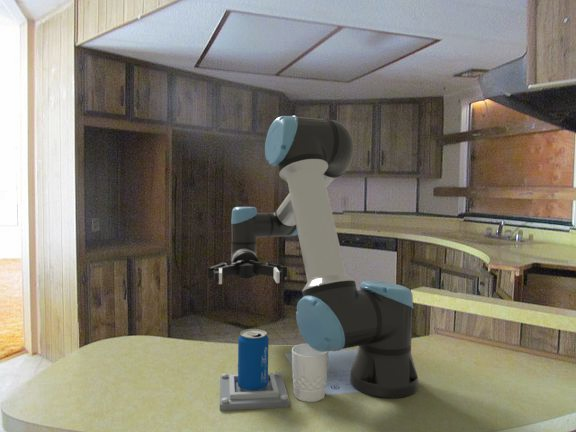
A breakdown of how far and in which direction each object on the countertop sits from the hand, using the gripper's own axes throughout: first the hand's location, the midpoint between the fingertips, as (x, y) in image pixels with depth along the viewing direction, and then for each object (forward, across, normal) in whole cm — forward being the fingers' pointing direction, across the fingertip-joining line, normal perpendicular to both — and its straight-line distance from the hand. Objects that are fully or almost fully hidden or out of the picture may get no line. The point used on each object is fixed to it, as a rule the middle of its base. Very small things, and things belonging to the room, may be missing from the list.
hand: (249, 278), depth 111 cm
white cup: (+13, -12, -23) cm, 29 cm away
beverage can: (+11, 0, -22) cm, 25 cm away
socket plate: (+11, 0, -23) cm, 25 cm away
